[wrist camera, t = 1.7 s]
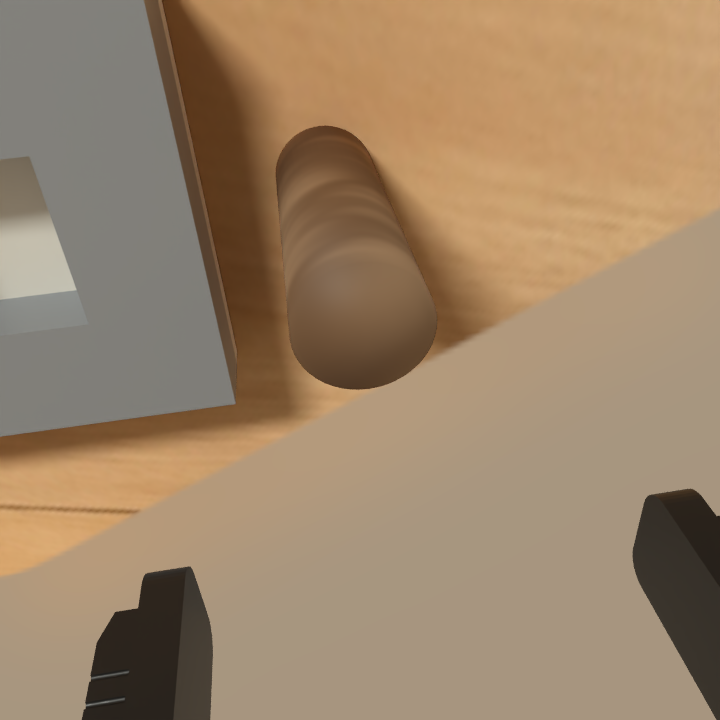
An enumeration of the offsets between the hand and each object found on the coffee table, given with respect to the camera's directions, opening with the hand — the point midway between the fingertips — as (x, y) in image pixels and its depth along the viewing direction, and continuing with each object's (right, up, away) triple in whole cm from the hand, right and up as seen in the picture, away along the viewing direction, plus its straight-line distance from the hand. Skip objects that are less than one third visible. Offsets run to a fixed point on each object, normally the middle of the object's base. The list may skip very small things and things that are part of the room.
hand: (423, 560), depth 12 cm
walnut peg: (-3, +11, +16) cm, 20 cm away
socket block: (-15, +9, +15) cm, 24 cm away
